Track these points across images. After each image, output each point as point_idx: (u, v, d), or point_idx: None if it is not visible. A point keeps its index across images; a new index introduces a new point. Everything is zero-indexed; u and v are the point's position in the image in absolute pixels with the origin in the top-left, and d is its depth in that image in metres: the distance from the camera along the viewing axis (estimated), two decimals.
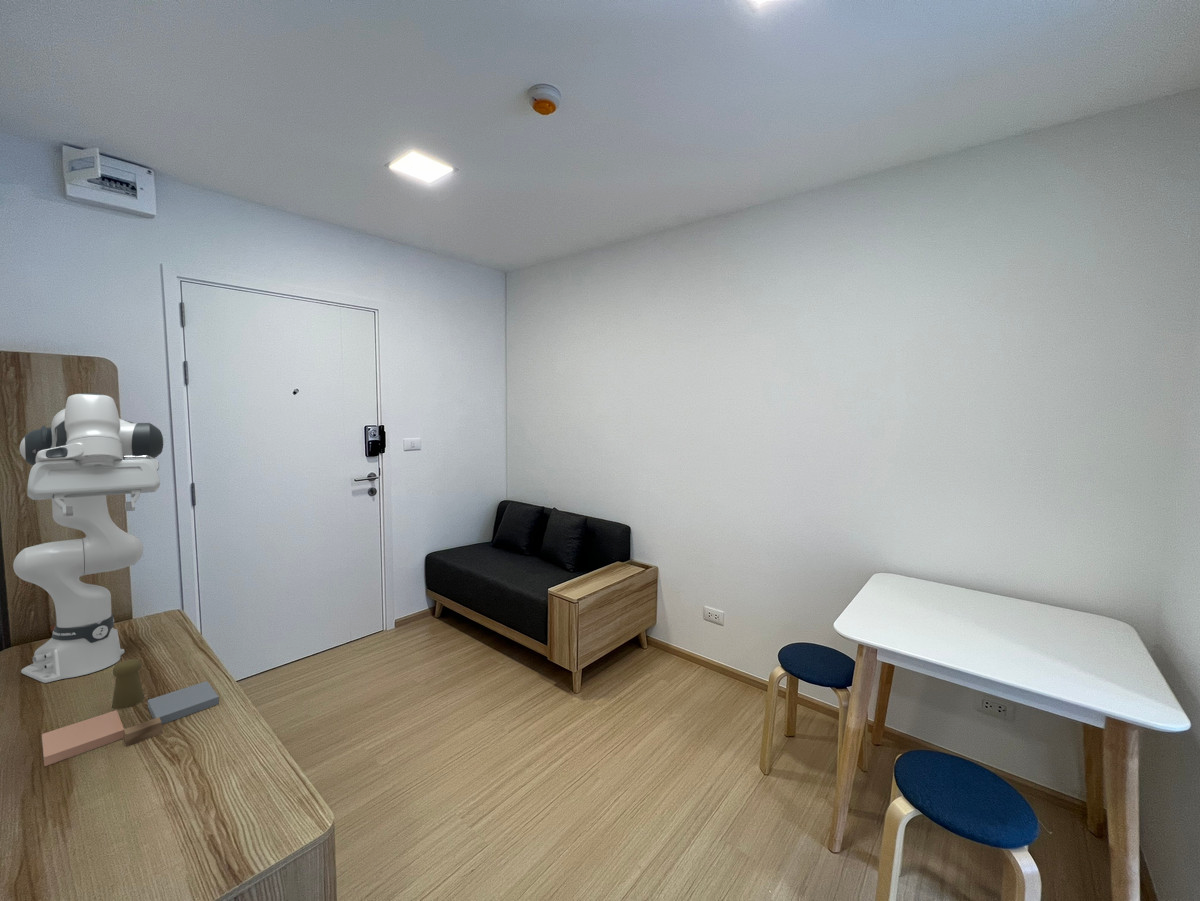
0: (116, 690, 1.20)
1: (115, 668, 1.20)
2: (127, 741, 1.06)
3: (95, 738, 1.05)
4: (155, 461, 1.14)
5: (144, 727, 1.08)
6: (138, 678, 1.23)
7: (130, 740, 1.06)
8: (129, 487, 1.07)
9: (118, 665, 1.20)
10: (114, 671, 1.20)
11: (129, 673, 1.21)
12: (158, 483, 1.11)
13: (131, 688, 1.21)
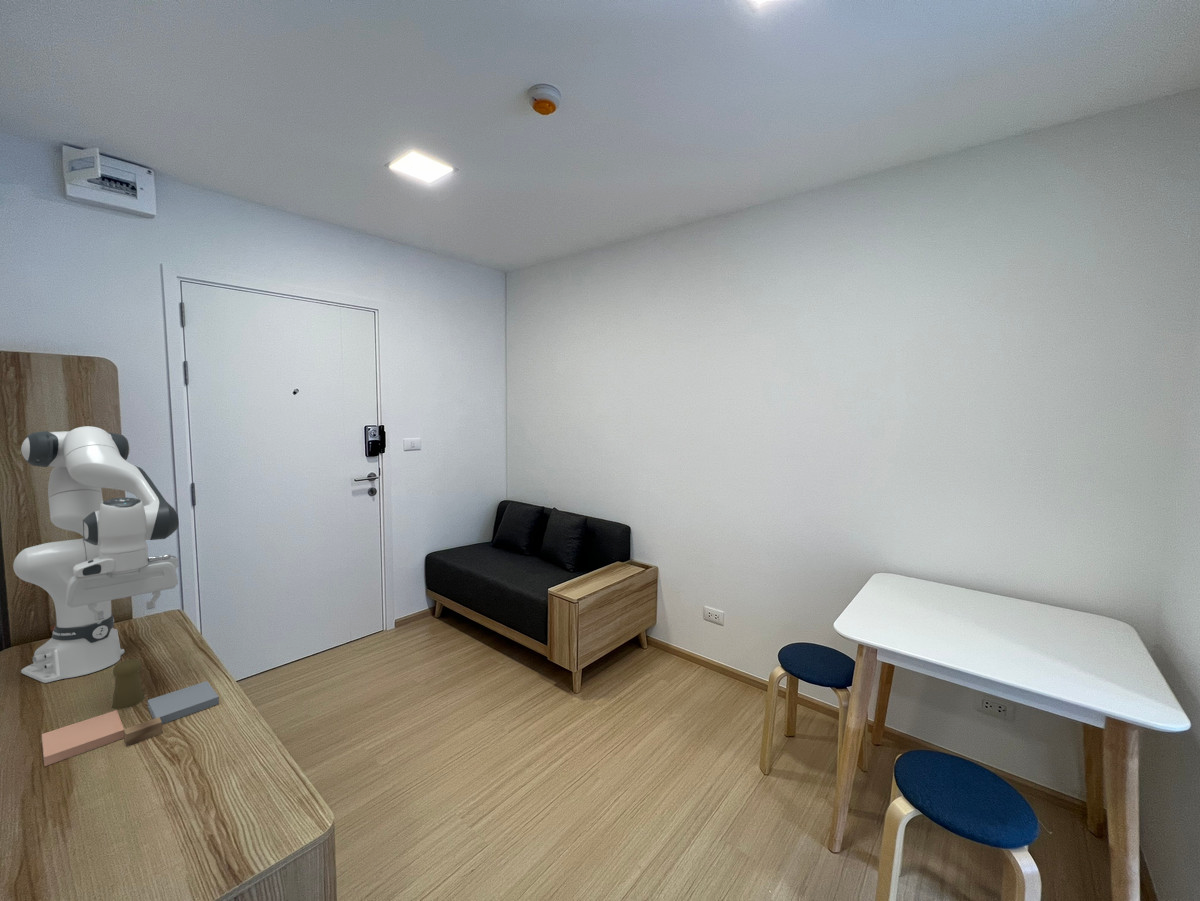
0: (116, 690, 1.20)
1: (115, 668, 1.20)
2: (127, 741, 1.06)
3: (95, 738, 1.05)
4: (175, 560, 1.28)
5: (144, 727, 1.08)
6: (138, 678, 1.23)
7: (130, 740, 1.06)
8: (151, 591, 1.23)
9: (118, 665, 1.20)
10: (114, 671, 1.20)
11: (129, 673, 1.21)
12: (176, 584, 1.27)
13: (131, 688, 1.21)
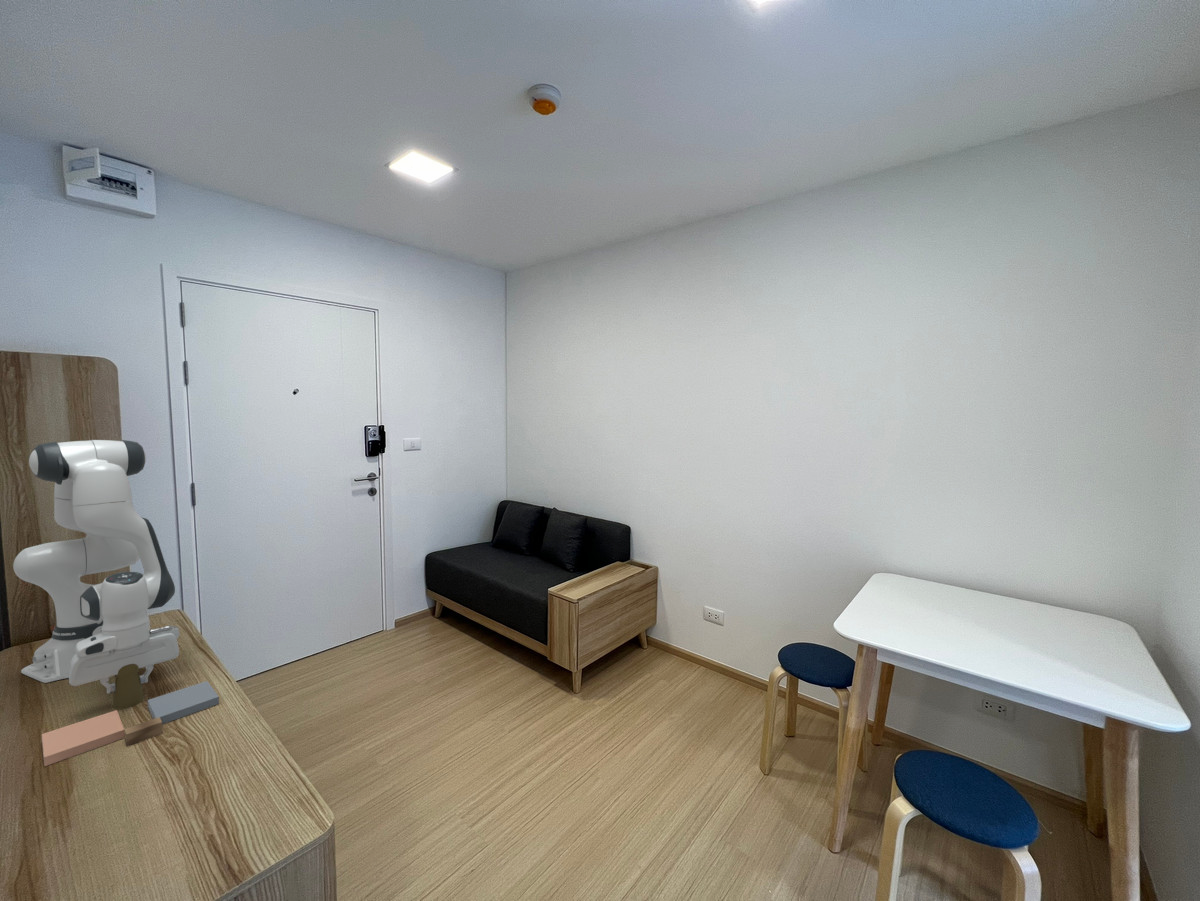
0: (116, 690, 1.20)
1: None
2: (128, 741, 1.06)
3: (95, 738, 1.05)
4: (176, 630, 1.29)
5: (145, 727, 1.08)
6: (138, 678, 1.23)
7: (130, 739, 1.06)
8: (153, 663, 1.25)
9: None
10: None
11: (129, 673, 1.21)
12: (177, 654, 1.29)
13: (131, 688, 1.21)
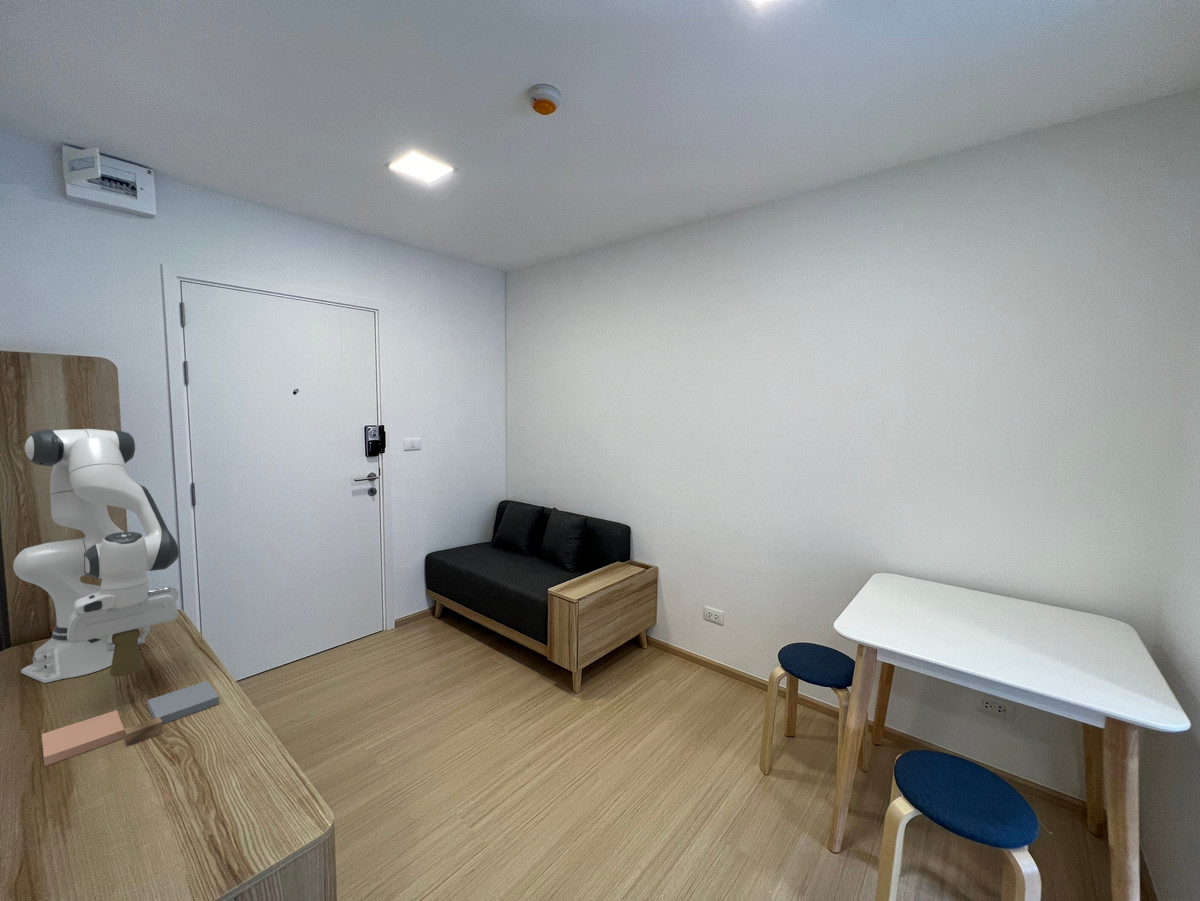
0: (115, 658, 1.20)
1: (114, 636, 1.20)
2: (128, 741, 1.06)
3: (95, 738, 1.05)
4: (175, 592, 1.29)
5: (145, 727, 1.08)
6: (137, 646, 1.23)
7: (130, 739, 1.06)
8: (151, 624, 1.25)
9: (117, 633, 1.20)
10: (113, 638, 1.20)
11: (128, 641, 1.21)
12: (176, 616, 1.28)
13: (130, 656, 1.21)
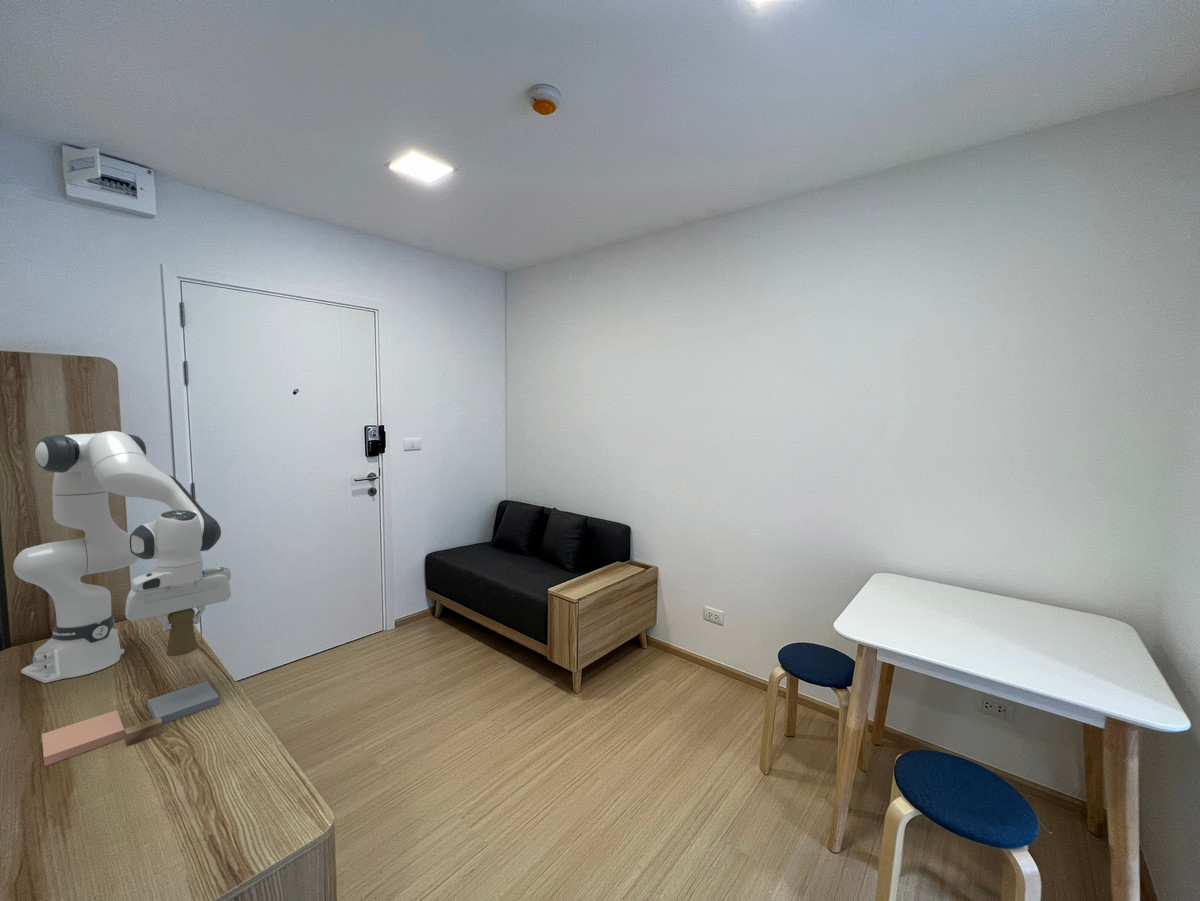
0: (171, 637, 1.18)
1: (170, 615, 1.18)
2: (128, 741, 1.06)
3: (95, 738, 1.05)
4: (228, 572, 1.27)
5: (145, 727, 1.08)
6: (192, 626, 1.21)
7: (130, 739, 1.06)
8: (206, 604, 1.23)
9: (173, 612, 1.19)
10: (169, 618, 1.18)
11: (184, 620, 1.19)
12: (229, 596, 1.27)
13: (186, 636, 1.19)
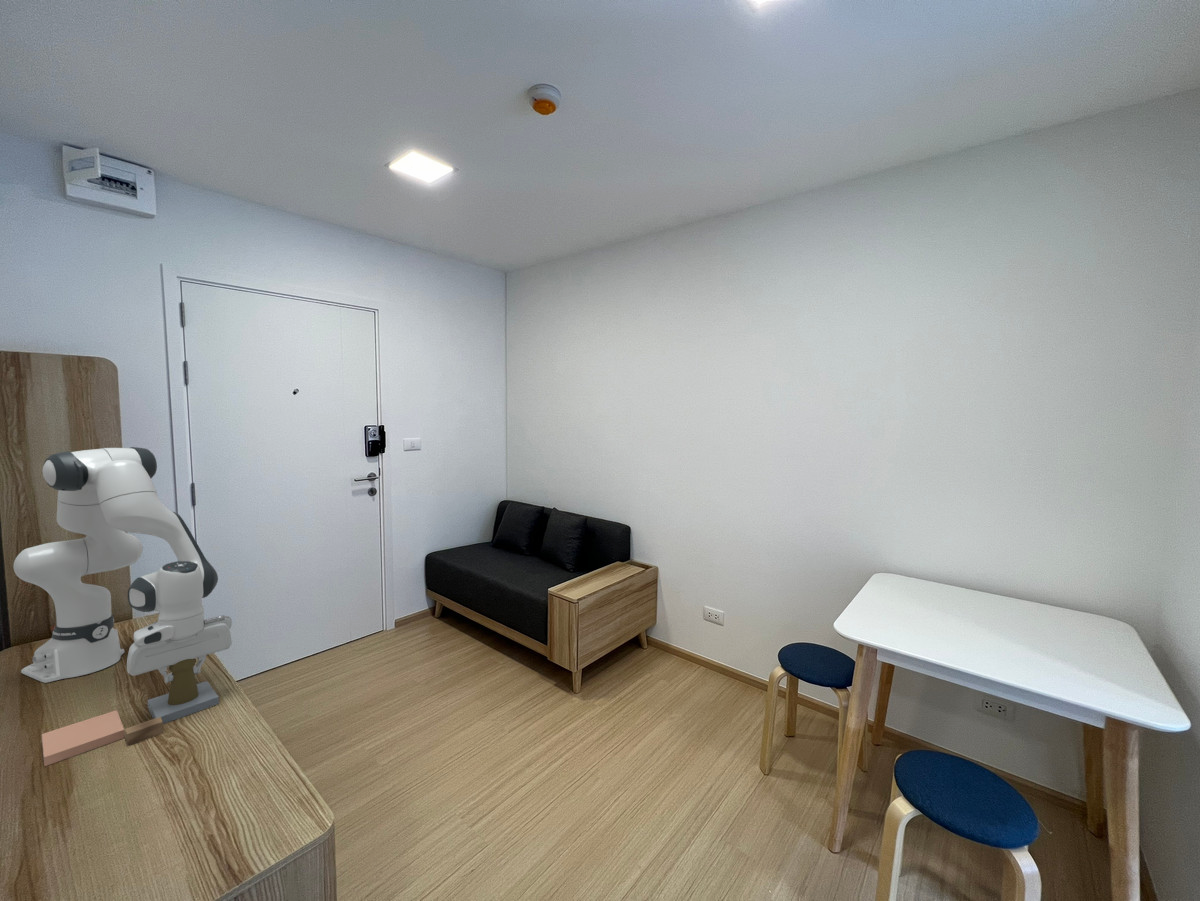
0: (172, 686, 1.19)
1: None
2: (128, 741, 1.06)
3: (95, 738, 1.05)
4: (229, 620, 1.28)
5: (145, 727, 1.08)
6: (193, 674, 1.22)
7: (131, 739, 1.06)
8: (207, 654, 1.23)
9: None
10: (170, 667, 1.18)
11: (185, 668, 1.19)
12: (230, 645, 1.27)
13: (187, 684, 1.20)
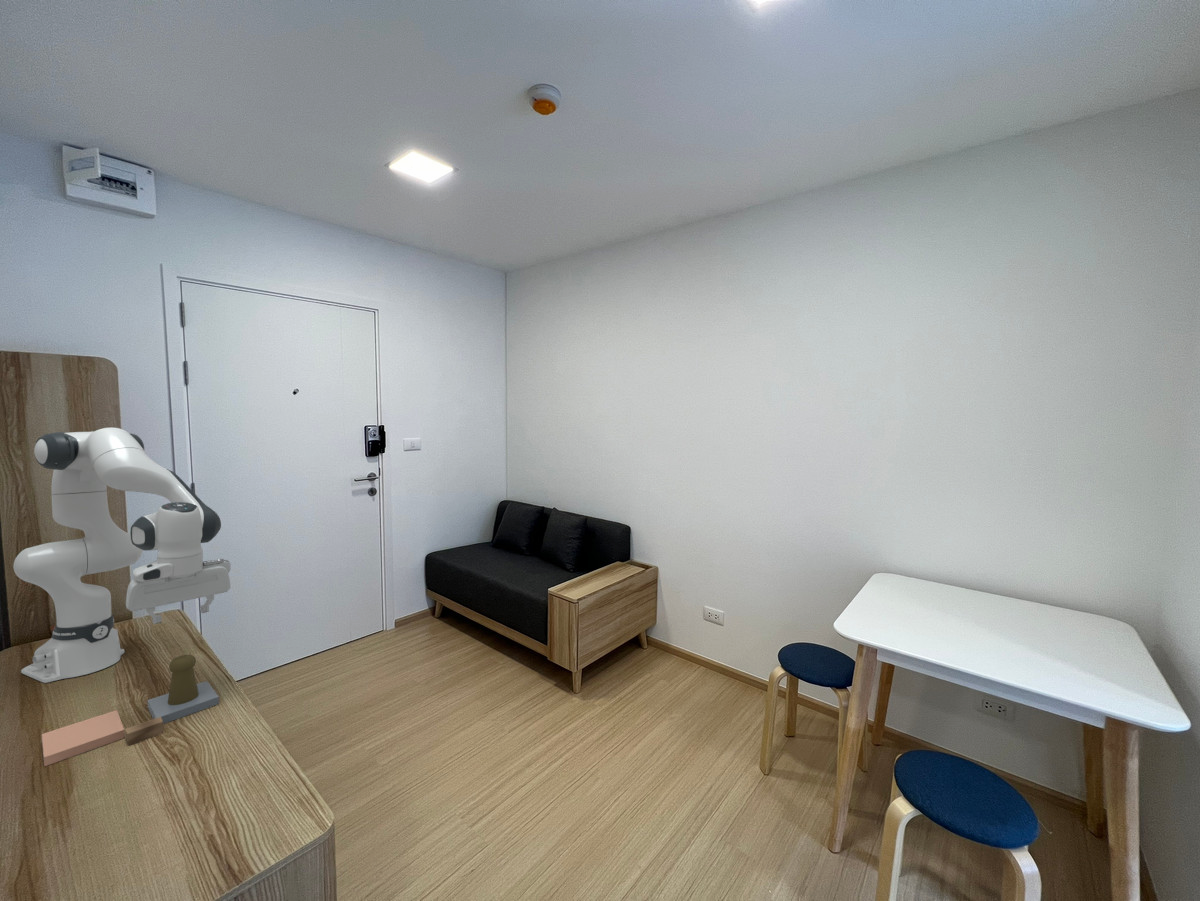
0: (172, 686, 1.19)
1: (171, 664, 1.19)
2: (129, 740, 1.06)
3: (95, 738, 1.05)
4: (228, 564, 1.29)
5: (146, 726, 1.08)
6: (193, 674, 1.22)
7: (131, 739, 1.06)
8: (206, 595, 1.24)
9: (174, 661, 1.19)
10: (170, 667, 1.18)
11: (185, 668, 1.19)
12: (229, 588, 1.28)
13: (187, 684, 1.20)
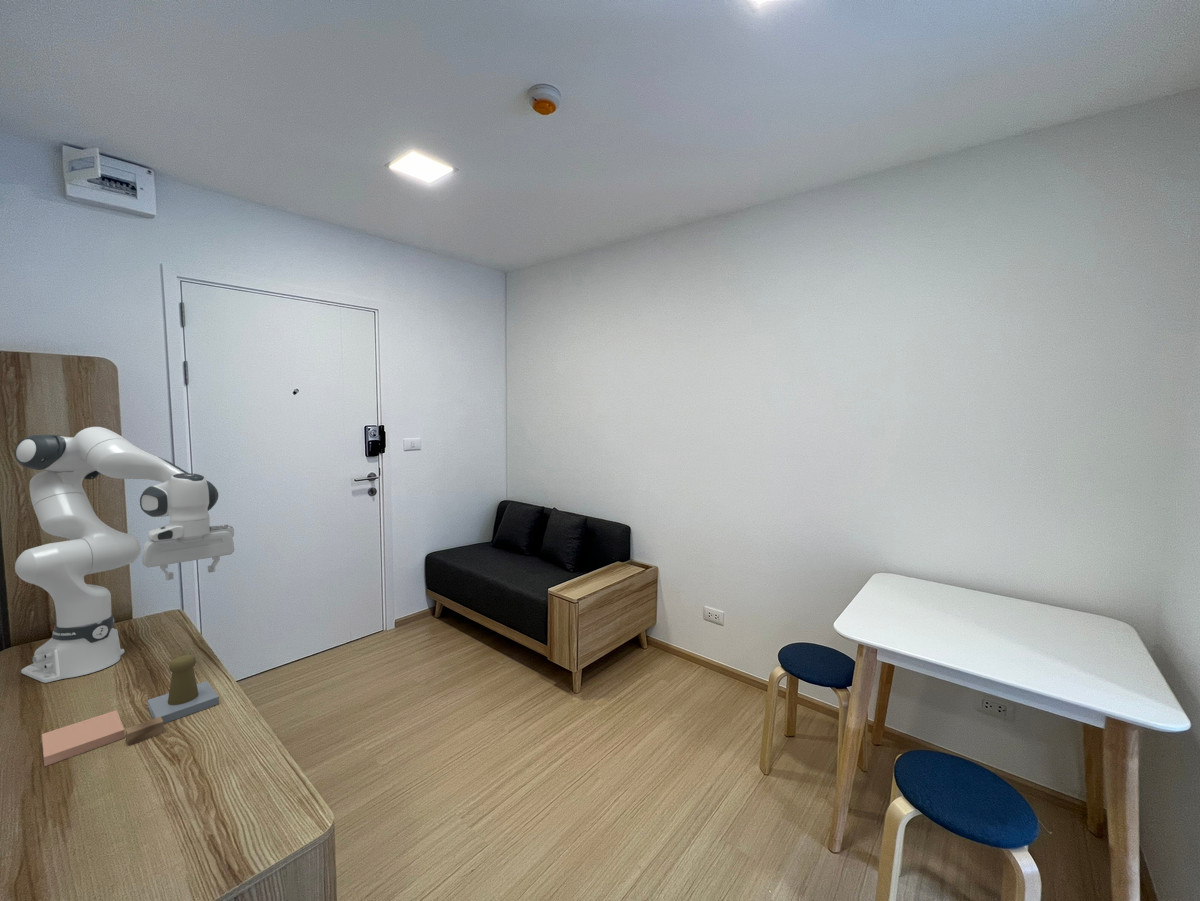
0: (172, 686, 1.19)
1: (171, 664, 1.19)
2: (129, 740, 1.06)
3: (95, 738, 1.05)
4: (232, 529, 1.44)
5: (146, 726, 1.08)
6: (193, 674, 1.22)
7: (131, 739, 1.06)
8: (212, 556, 1.39)
9: (174, 661, 1.19)
10: (170, 667, 1.18)
11: (185, 668, 1.19)
12: (233, 551, 1.43)
13: (187, 684, 1.20)
